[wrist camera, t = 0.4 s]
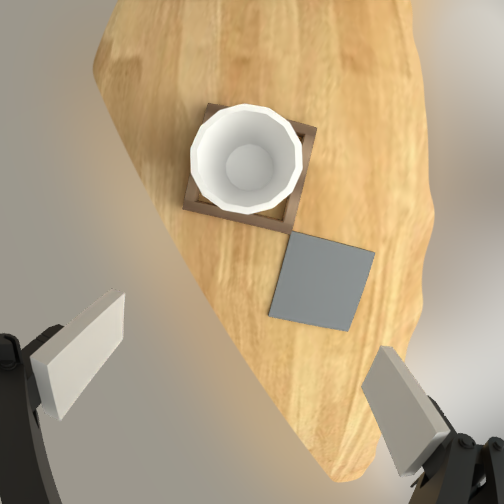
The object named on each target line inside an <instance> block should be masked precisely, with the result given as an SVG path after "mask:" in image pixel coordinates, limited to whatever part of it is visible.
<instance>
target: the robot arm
mask: <svg viewBox="0 0 504 504" xmlns="http://www.w3.org/2000/svg"><path fill="white" fill-rule="evenodd" d="M124 301H125V292H122V291H119V290H116V289H110V290H109V291H108V292H107V293H105V294H104V295H103V296H101V297H100V298H99V299H98V300H96V301H95V302H94V303H93V304H91V305H90V306H89V307H88V308H86V309H85V310H84V311H83V312H81V313H80V314H79V315H78V316H77V317H75V318H74V319H73V320H72V321H71V322H70V323H68V324H67V325H66V326H65V327H64V326H61V325H60V324H58V325H55V326H52V327H49V328H48V329H46V330H45V331H44V332H43V333H41V335H39V336H38V337H36V339H34V340H33V341H31V342H30V343H29V344H28V345H27V346H25V347H24V348H23V349H22V350H21V348H20V344H19V340H18V339H17V338H16V337H15V336H13V335H11V334H5V333H3V334H0V497H1V501H2V504H62V502H61V499H60V497H59V494H58V491H57V488H56V485H55V482H54V479H53V476H52V472H51V469H50V466H49V462H48V458H47V454H46V451H45V446H44V442H43V438H42V433H41V429H40V423H39V418H38V413H37V410H36V408H37V407H38V406H39V405H40V403H41V404H42V407H43V410H44V413H45V414H47V415H49V416H51V417H53V418H55V419H57V420H59V421H61V420H62V418H63V417H64V415H65V414H66V413H67V411H68V410H69V409H70V407H71V406H72V404H73V403H74V402H75V401H76V399H77V398H78V397H79V395H80V394H81V392H82V391H83V390H84V389H85V387H86V386H87V385H88V383H89V382H90V380H91V379H92V378H93V377H94V375H95V374H96V373H97V372H98V370H99V369H100V368H101V366H102V365H103V364H104V363H105V361H106V360H107V359H108V357H109V356H110V355H111V354H112V352H113V351H114V350H115V348H116V347H117V346H118V345H119V344H120V342H121V341H122V340H123V322H124V321H123V320H124ZM361 387H362V390H363V392H364V394H365V396H366V398H367V401H368V403H369V405H370V407H371V410H372V412H373V414H374V417H375V419H376V421H377V423H378V426H379V428H380V430H381V433H382V435H383V437H384V440H385V442H386V444H387V447H388V449H389V452H390V454H391V456H392V459H393V461H394V464H395V466H396V469H397V471H398V474H399V476H400V477H403V476H410V475H414V474H415V473H416V472H417V471H418V470H419V469H420V468H421V466H422V467H423V469H424V472H423V473H422V474H421V475H420V477H419V478H418V479H417V480H416V481H415V482H414V483H413V484H412V485H411V487H413V486H414V485H415V484H417V485H416V488H415V490H414V492H413V495H412V497H411V499H410V502H409V504H504V441H503V440H502V439H501V438H498V437H491V438H490V439H489V440H488V441H487V442H486V443H485V445H478V444H476V443H475V441H474V440H473V439H472V438H471V437H470V436H468V435H467V434H463V433H458V434H457V433H456V431H455V430H454V428H453V427H452V425H451V423H450V422H449V421H448V419H447V418H446V416H444V413H443V412H442V410H440V407H439V406H438V405H437V403H436V402H435V401H434V400H433V399H432V398H431V397H429V396H427V395H426V393H425V392H424V391H423V389H422V388H421V386H420V385H419V384H418V382H417V380H416V379H415V378H414V376H413V375H412V373H411V372H410V371H409V369H408V368H407V366H406V365H405V364H404V362H403V361H402V359H401V358H400V357H399V355H398V354H397V353H396V351H395V350H394V349H393V347H388V346H380V348H379V351H378V353H377V355H376V357H375V359H374V361H373V363H372V366H371V368H370V370H369V372H368V374H367V376H366V378H365V380H364V382H363V384H362V386H361ZM485 477H486V482H485V484H484V485H482V486H480V482H481V481H482V480H483V479H484V478H485Z"/></svg>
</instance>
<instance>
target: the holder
mask: <svg viewBox="0 0 504 504" xmlns="http://www.w3.org/2000/svg"><path fill="white" fill-rule="evenodd" d="M225 108H229V107H228V106H222V105H217V104H211V103H208V105H207V108H206V112H205V116H204V119H203V123H202V124H204V123H205V122H206V121H207V120H208V119H210V118H211V117H212V116H213V115H214V114H215V113H217V112H218V111H219V110H222V109H225ZM286 120H287V119H286ZM287 121H288V122H290V124H291V126H292V128H293V129H294V131H295V133H296V135H297V136H298V137H302V141H301V144H302V165H303V169H302V172H301V174H300V176H299V178H298V181H297V183H296V185H295V187H294V189H293V192H292V193H290V194H289V195H288V199H287V203H286V207H285V210H284V214H283V218H282V220H279V219H275V218H271V217H266V216H262V215H258V214H254V213H253V214H249V215H247V214H242V213H237V212H231V211H226V210H222V209H221V208H220V207H218V206H217V205H215V204H211V203H206V202H202V201H198V198H199V193H200V189H199V188H198V186H197V184H196V182H195V180H194V178H193V176H192V174H191V172H190V176H189V180H188V185H187V189H186V194H185V199H184V204H183V208H182V209H183V210H188V211H192V212H197V213H201V214H206V215H210V216H214V217H219V218H223V219H227V220H232V221H236V222H240V223H244V224H249V225H253V226H257V227H261V228H265V229H270V230H274V231H278V232H282V233H286V234H290V235H291V233H292V229H293V225H294V221H295V217H296V213H297V209H298V205H299V201H300V197H301V193H302V189H303V185H304V181H305V177H306V173H307V169H308V165H309V161H310V156H311V152H312V148H313V144H314V139H315V135H316V131H317V128H316V127H313V126H309V125H306V124H302V123H298V122H295V121H291V120H287Z"/></svg>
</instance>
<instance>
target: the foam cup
mask: <svg viewBox="0 0 504 504" xmlns="http://www.w3.org/2000/svg"><path fill="white" fill-rule="evenodd" d="M190 160H191V174H192V176H193V178H194V180H195V182H196V184H197V186H198V188H199V189H200V191H201V193H202V195H203V196H204V197H206V198H207V199H209V200H210V201H211V202H213V203H214V204H215V205H217V206H218V207H220V208H221V209H222V210H226V211H231V212H237V213H242V214H247V215H249V214H253V213H256V212H260V211H264V210H268V209H272V208H274V207H275V206H276V205H277V204H279V203H280V202H281V201H282V200H283V199H284V198H286V197H287V196H288V195H289V194H290V193H292V192H293V189H294V187H295V185H296V183H297V181H298V178H299V176H300V174H301V172H302V169H303V165H302V144H301V142H300V140H299V138H298V137H297V135H296V133H295V131H294V129H293V128H292V126H291V124H290V122H288V121H287V120H286V119H284V118H283V117H281V116H280V115H279V114H277V113H276V112H274V111H273V110H271V109H270V108H267V107H262V106H256V105H250V104H240V105H236V106H233V107H229V108H225V109H222V110H219V111H218V112H217V113H215V114H214V115H213V116H212V117H211V118H210V119H208V120H207V121H206V122H205V123H204V124H202V125H201V126H200V128H199V130H198V133H197V135H196V137H195V139H194V141H193V144H192V146H191V148H190Z"/></svg>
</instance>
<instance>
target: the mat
mask: <svg viewBox="0 0 504 504" xmlns="http://www.w3.org/2000/svg"><path fill="white" fill-rule="evenodd" d="M374 256H375V252H371V251H367V250H364V249H360V248H356V247H353V246H349V245H345V244H341V243H337V242H334V241H330V240H326V239H322V238H318V237H314V236H310V235H306V234H303V233H299V232H295V231H292V233H291V235H290V238H289V242H288V246H287V249H286V253H285V257H284V261H283V264H282V268H281V272H280V275H279V279H278V282H277V286H276V290H275V293H274V297H273V300H272V304H271V307H270V311H269V314H268V316H269V317H274V318H279V319H284V320H289V321H294V322H299V323H304V324H309V325H314V326H319V327H325V328H330V329H336V330H342V331H347V332H348V331H349V328H350V325H351V323H352V320H353V318H354V315H355V312H356V309H357V307H358V304H359V301H360V298H361V295H362V293H363V290H364V287H365V284H366V281H367V278H368V275H369V272H370V268H371V265H372V262H373V259H374Z"/></svg>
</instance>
